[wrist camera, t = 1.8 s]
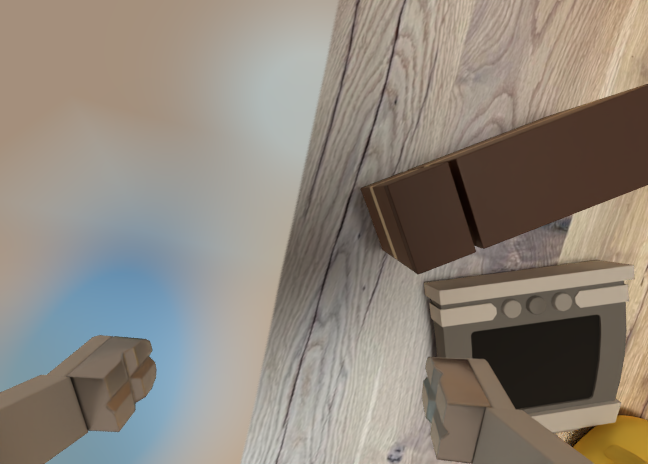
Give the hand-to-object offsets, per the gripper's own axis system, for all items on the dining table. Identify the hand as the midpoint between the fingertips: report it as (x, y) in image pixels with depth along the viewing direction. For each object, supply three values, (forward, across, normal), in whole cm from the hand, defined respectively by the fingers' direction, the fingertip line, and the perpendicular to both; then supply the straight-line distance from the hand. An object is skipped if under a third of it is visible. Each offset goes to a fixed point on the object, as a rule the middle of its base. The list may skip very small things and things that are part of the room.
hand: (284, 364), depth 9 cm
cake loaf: (+22, -14, -2) cm, 27 cm away
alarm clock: (+19, -19, +14) cm, 30 cm away
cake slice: (+20, -6, +1) cm, 21 cm away
